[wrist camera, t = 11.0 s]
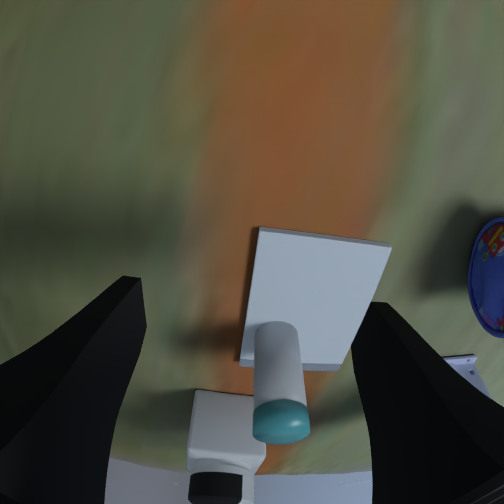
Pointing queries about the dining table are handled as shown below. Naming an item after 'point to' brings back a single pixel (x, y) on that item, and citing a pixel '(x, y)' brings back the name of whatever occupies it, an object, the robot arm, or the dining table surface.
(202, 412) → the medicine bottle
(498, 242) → the pencil case
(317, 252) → the note pad
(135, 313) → the robot arm
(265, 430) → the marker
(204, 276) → the dining table surface
